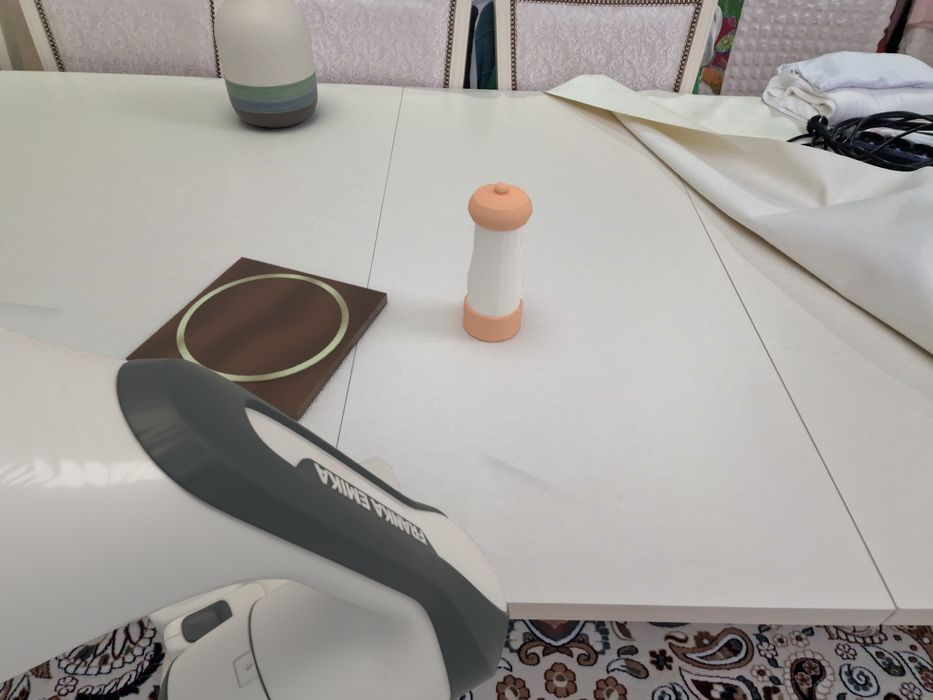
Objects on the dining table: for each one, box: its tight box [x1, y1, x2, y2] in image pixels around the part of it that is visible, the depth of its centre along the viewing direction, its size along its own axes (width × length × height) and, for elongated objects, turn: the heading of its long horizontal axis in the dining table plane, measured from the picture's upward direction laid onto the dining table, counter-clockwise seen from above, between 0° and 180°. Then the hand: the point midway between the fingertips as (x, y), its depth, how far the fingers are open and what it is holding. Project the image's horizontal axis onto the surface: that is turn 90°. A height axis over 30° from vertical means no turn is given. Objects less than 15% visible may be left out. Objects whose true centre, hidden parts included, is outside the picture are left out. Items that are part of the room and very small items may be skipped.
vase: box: [213, 0, 319, 129], centre depth 115 cm, size 17×17×24 cm
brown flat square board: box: [125, 256, 388, 422], centre depth 75 cm, size 22×22×2 cm
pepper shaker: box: [462, 182, 533, 343], centre depth 71 cm, size 7×7×19 cm
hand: (255, 468), depth 52 cm, fingers closed on beverage can, 5 cm apart
